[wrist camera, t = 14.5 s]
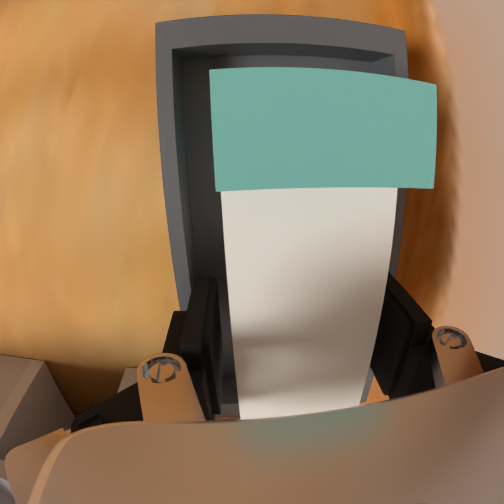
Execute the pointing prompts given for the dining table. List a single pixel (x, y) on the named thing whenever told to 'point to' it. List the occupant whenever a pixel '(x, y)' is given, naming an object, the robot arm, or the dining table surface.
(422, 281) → the dining table surface
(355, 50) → the tray
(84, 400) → the dining table surface
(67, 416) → the bay
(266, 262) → the teal-capped white block
